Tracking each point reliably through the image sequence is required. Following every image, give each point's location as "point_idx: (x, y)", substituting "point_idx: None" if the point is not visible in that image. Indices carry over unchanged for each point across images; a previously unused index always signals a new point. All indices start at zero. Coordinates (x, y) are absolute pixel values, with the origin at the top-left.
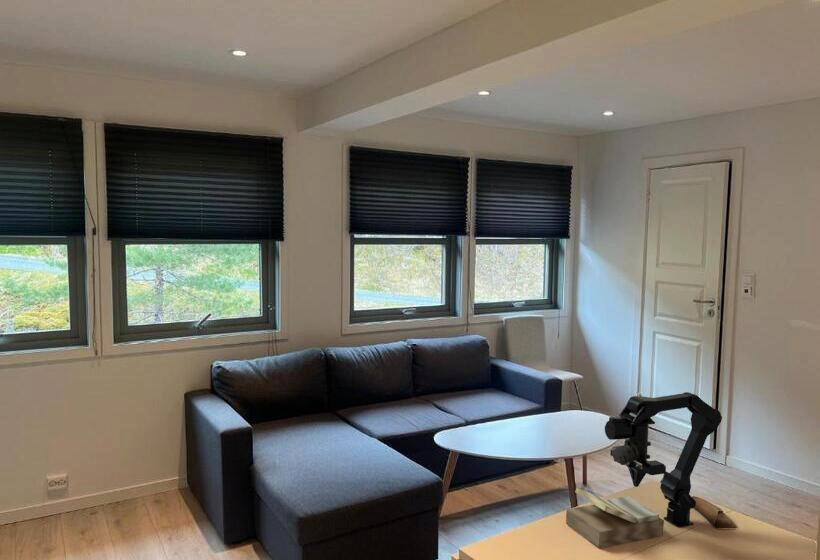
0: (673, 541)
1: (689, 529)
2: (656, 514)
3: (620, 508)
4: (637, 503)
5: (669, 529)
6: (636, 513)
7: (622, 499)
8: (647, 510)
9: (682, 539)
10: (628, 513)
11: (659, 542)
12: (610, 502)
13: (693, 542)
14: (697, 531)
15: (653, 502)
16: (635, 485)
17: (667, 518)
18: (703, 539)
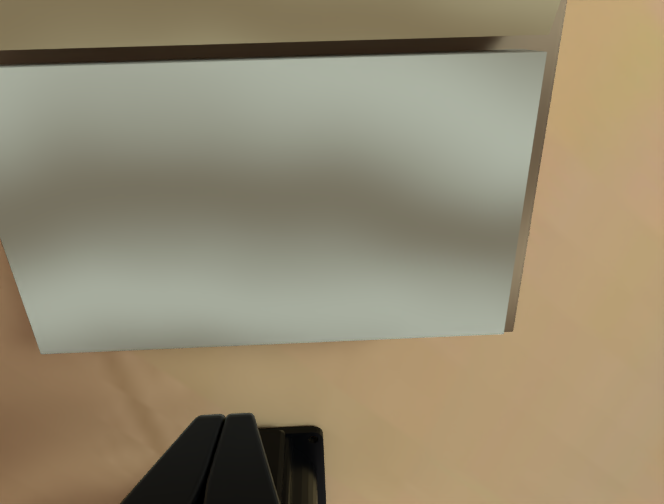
0: None
1: None
2: (45, 333)
3: (245, 25)
4: (325, 322)
5: (189, 375)
6: (85, 144)
7: (466, 238)
8: (148, 311)
9: (48, 362)
10: (64, 18)
11: None
12: (445, 11)
13: (6, 393)
14: None
15: (520, 498)
16: (187, 433)
17: (273, 438)
18: (42, 459)
